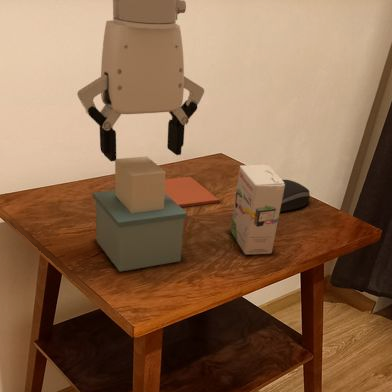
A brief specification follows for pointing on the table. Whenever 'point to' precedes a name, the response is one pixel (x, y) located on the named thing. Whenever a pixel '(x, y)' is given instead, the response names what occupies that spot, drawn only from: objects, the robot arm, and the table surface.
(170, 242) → the storage box
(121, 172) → the small box
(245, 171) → the ink box
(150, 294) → the table surface
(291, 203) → the computer mouse
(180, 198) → the mat
